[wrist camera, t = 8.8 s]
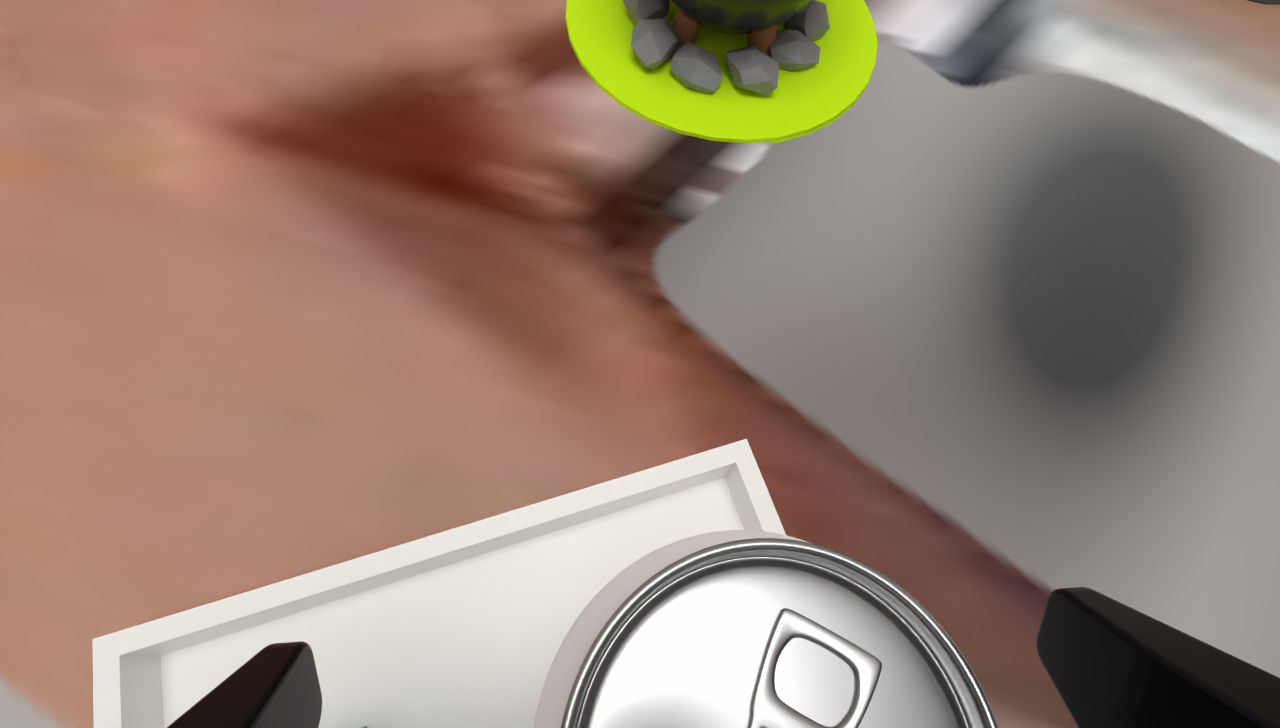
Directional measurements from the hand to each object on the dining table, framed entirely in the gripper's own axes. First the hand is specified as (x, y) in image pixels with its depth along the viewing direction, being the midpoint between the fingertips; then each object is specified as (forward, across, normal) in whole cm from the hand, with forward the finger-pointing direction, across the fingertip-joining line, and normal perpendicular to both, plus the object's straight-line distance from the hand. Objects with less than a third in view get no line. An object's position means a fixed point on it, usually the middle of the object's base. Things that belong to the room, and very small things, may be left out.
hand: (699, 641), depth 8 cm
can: (+8, -1, +10) cm, 13 cm away
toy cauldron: (+29, -6, -10) cm, 31 cm away
